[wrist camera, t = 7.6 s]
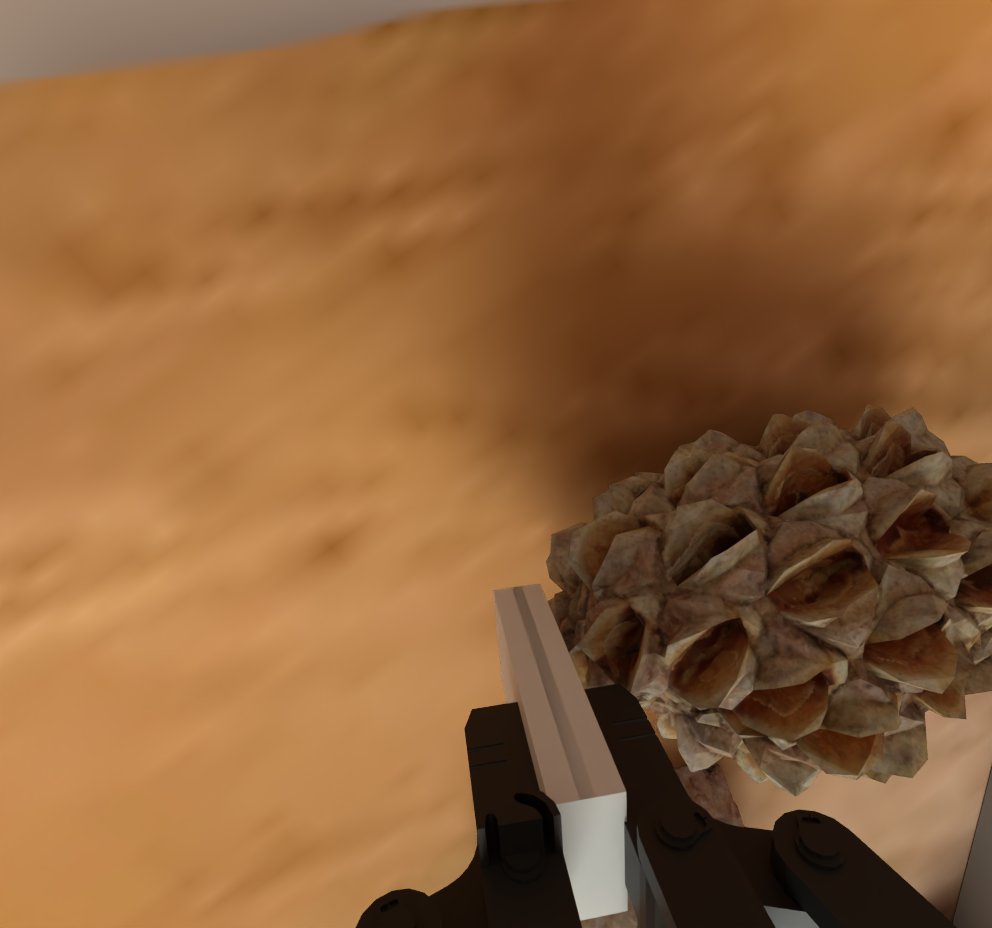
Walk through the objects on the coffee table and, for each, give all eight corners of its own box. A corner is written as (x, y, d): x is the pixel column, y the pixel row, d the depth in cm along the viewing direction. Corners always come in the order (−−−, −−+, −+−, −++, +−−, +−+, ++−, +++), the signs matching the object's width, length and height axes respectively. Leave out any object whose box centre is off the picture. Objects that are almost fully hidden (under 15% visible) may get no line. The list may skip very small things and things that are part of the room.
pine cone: (528, 667, 22) (610, 957, 13) (488, 424, 19) (558, 577, 10) (1063, 551, 24) (1478, 736, 15) (1108, 309, 21) (1677, 346, 11)
